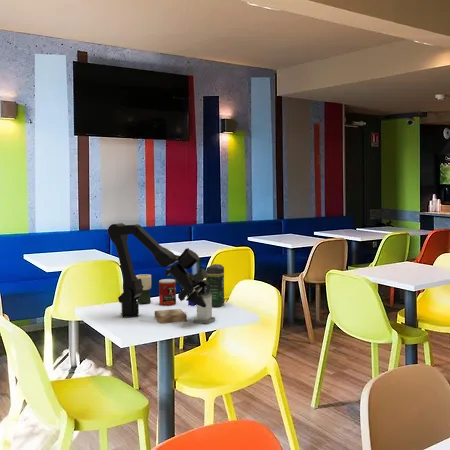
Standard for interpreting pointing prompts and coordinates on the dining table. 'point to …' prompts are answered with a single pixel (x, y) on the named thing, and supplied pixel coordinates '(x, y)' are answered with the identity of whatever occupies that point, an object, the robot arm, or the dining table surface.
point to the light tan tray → (170, 316)
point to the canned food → (167, 292)
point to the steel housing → (205, 310)
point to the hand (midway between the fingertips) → (207, 305)
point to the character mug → (145, 288)
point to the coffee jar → (215, 284)
